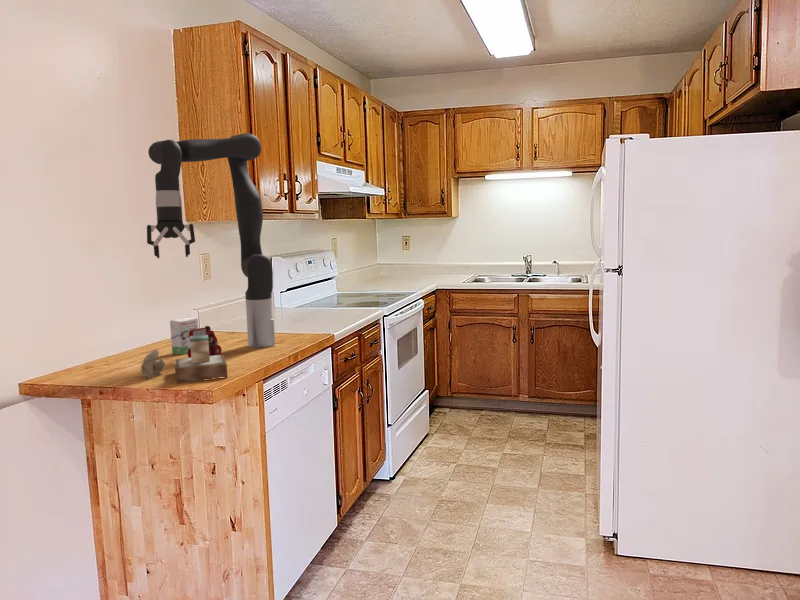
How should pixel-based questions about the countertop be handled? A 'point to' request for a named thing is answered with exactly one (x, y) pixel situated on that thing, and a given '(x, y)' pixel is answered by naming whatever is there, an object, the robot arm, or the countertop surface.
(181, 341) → the ink box
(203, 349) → the maple block
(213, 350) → the toy fire truck
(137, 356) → the countertop surface
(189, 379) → the base slab
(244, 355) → the countertop surface
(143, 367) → the bone
